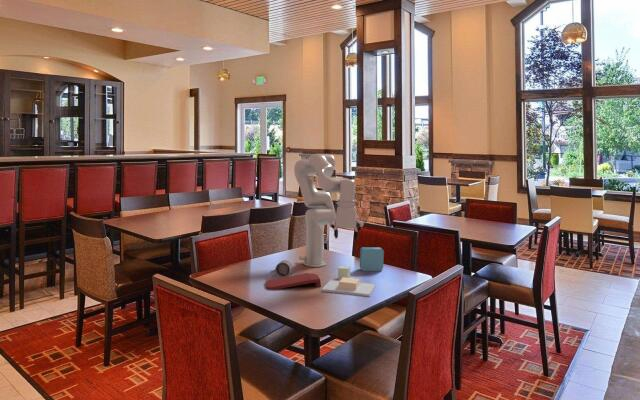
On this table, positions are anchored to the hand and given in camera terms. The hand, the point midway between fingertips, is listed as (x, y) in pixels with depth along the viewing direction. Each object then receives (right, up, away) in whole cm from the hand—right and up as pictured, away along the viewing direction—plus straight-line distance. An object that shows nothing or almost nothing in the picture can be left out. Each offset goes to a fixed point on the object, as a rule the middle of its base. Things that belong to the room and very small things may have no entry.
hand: (345, 238), depth 229 cm
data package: (+15, -19, +21) cm, 32 cm away
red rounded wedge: (-26, -22, -10) cm, 35 cm away
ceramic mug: (-33, -19, +6) cm, 38 cm away
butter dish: (+1, -22, -14) cm, 26 cm away
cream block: (-1, -20, +2) cm, 21 cm away
